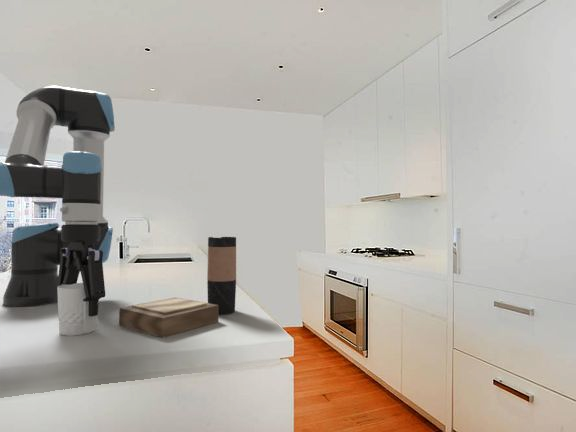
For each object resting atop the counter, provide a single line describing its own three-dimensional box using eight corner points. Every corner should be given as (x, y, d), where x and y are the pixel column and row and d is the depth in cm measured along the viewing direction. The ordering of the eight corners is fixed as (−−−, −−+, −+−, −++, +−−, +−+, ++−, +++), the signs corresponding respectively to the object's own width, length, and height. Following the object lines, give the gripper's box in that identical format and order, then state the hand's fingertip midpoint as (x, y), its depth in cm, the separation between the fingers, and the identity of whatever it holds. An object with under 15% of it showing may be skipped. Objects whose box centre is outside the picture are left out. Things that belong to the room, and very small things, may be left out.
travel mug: (230, 315, 99) (230, 237, 99) (202, 314, 100) (203, 237, 101) (239, 309, 106) (240, 236, 107) (213, 308, 108) (214, 236, 108)
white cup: (69, 339, 78) (69, 289, 78) (48, 333, 82) (49, 286, 83) (105, 330, 85) (105, 284, 85) (84, 325, 89) (85, 281, 89)
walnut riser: (119, 325, 89) (119, 305, 89) (175, 312, 102) (175, 295, 102) (162, 337, 80) (162, 315, 80) (218, 321, 93) (218, 303, 93)
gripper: (40, 223, 87) (38, 323, 87) (89, 223, 75) (87, 340, 74) (74, 223, 93) (73, 316, 93) (125, 223, 81) (123, 331, 80)
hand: (79, 327), depth 84 cm, fingers open, 9 cm apart
